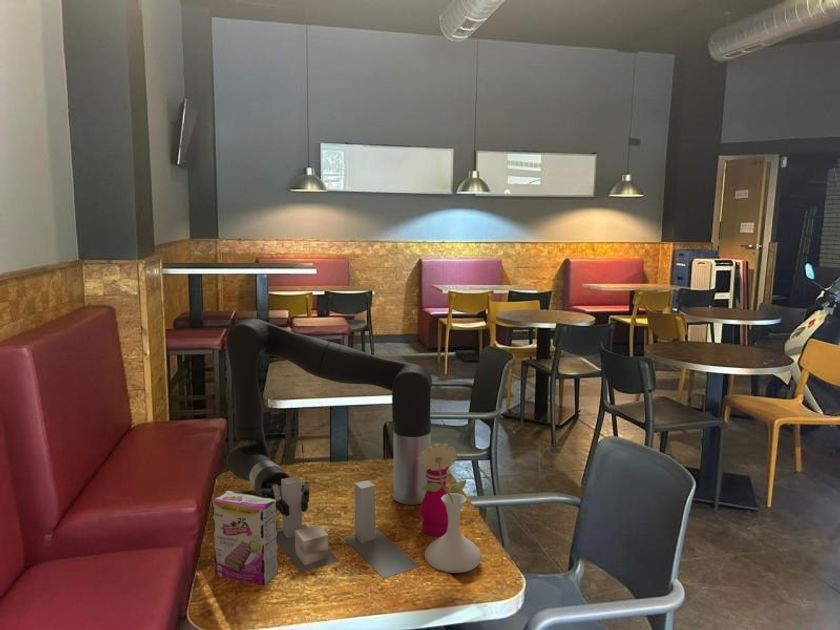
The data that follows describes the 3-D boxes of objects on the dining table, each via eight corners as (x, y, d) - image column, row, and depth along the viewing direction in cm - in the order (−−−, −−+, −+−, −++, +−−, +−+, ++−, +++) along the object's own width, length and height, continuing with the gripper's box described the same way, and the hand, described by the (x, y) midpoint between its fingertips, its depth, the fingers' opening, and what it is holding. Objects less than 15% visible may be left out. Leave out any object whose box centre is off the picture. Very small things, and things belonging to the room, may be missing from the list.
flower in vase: (483, 551, 129) (486, 436, 125) (478, 582, 118) (481, 456, 114) (421, 545, 131) (422, 432, 128) (411, 575, 120) (412, 451, 117)
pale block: (318, 547, 127) (318, 524, 127) (328, 558, 123) (328, 534, 123) (295, 553, 125) (294, 530, 124) (304, 565, 121) (304, 541, 120)
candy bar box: (213, 581, 117) (210, 500, 115) (230, 568, 122) (227, 489, 120) (264, 593, 114) (262, 509, 111) (279, 579, 118) (277, 497, 116)
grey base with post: (376, 533, 136) (375, 476, 134) (419, 571, 121) (419, 508, 119) (342, 542, 132) (342, 484, 130) (383, 584, 117) (383, 518, 115)
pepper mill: (427, 540, 134) (428, 451, 131) (414, 525, 140) (415, 440, 137) (457, 533, 136) (459, 446, 134) (443, 519, 143) (444, 436, 140)
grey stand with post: (305, 529, 138) (304, 472, 136) (339, 566, 123) (338, 503, 121) (270, 538, 133) (268, 480, 132) (301, 578, 118) (299, 513, 116)
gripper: (239, 471, 140) (263, 500, 126) (298, 459, 148) (327, 485, 133) (240, 503, 141) (264, 534, 127) (298, 489, 149) (327, 518, 134)
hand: (296, 509), depth 130 cm, fingers closed on grey stand with post, 3 cm apart
